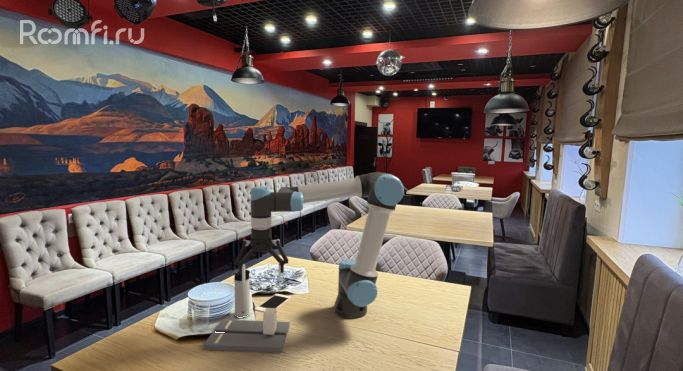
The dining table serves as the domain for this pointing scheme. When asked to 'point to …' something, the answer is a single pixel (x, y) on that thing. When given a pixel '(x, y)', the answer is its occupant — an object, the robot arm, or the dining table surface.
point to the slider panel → (247, 337)
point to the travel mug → (242, 294)
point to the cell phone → (273, 302)
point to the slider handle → (270, 321)
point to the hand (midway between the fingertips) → (261, 281)
